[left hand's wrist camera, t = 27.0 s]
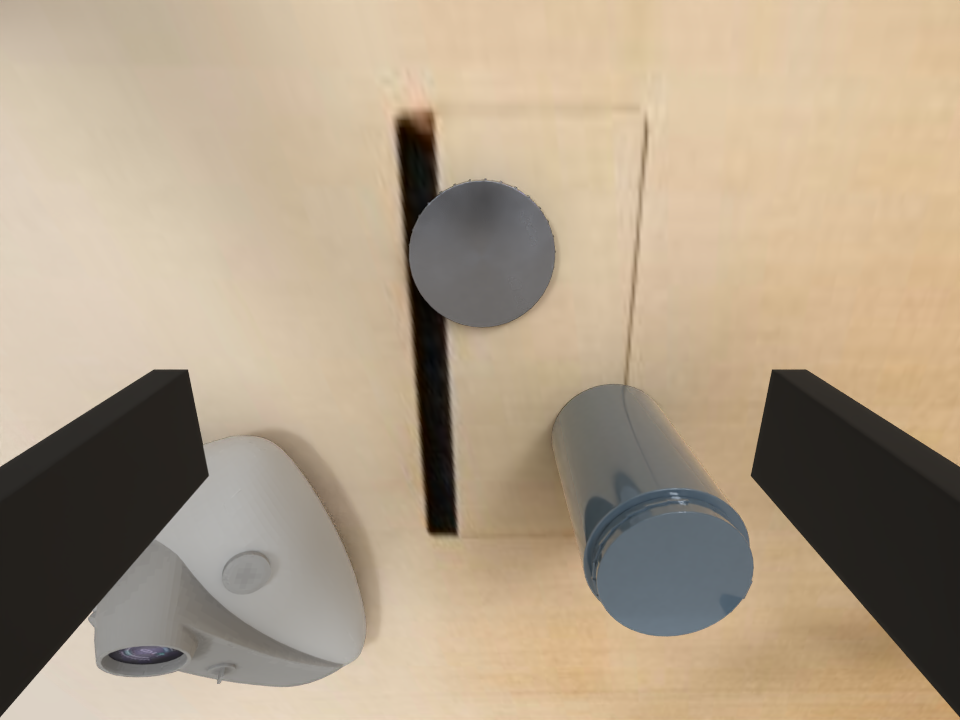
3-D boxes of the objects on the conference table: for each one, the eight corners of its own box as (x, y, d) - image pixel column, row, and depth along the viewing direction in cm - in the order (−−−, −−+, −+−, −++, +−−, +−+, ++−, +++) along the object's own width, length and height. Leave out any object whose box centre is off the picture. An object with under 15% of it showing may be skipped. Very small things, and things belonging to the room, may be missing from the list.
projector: (108, 609, 47) (-44, 792, 33) (131, 377, 40) (-53, 491, 26) (355, 665, 49) (307, 858, 36) (421, 456, 42) (392, 599, 28)
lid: (524, 154, 35) (526, 154, 33) (571, 293, 38) (575, 298, 36) (387, 211, 36) (383, 213, 34) (444, 341, 39) (442, 348, 37)
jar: (538, 473, 43) (566, 626, 29) (570, 372, 40) (620, 487, 26) (643, 495, 43) (722, 655, 29) (683, 397, 40) (792, 523, 26)
